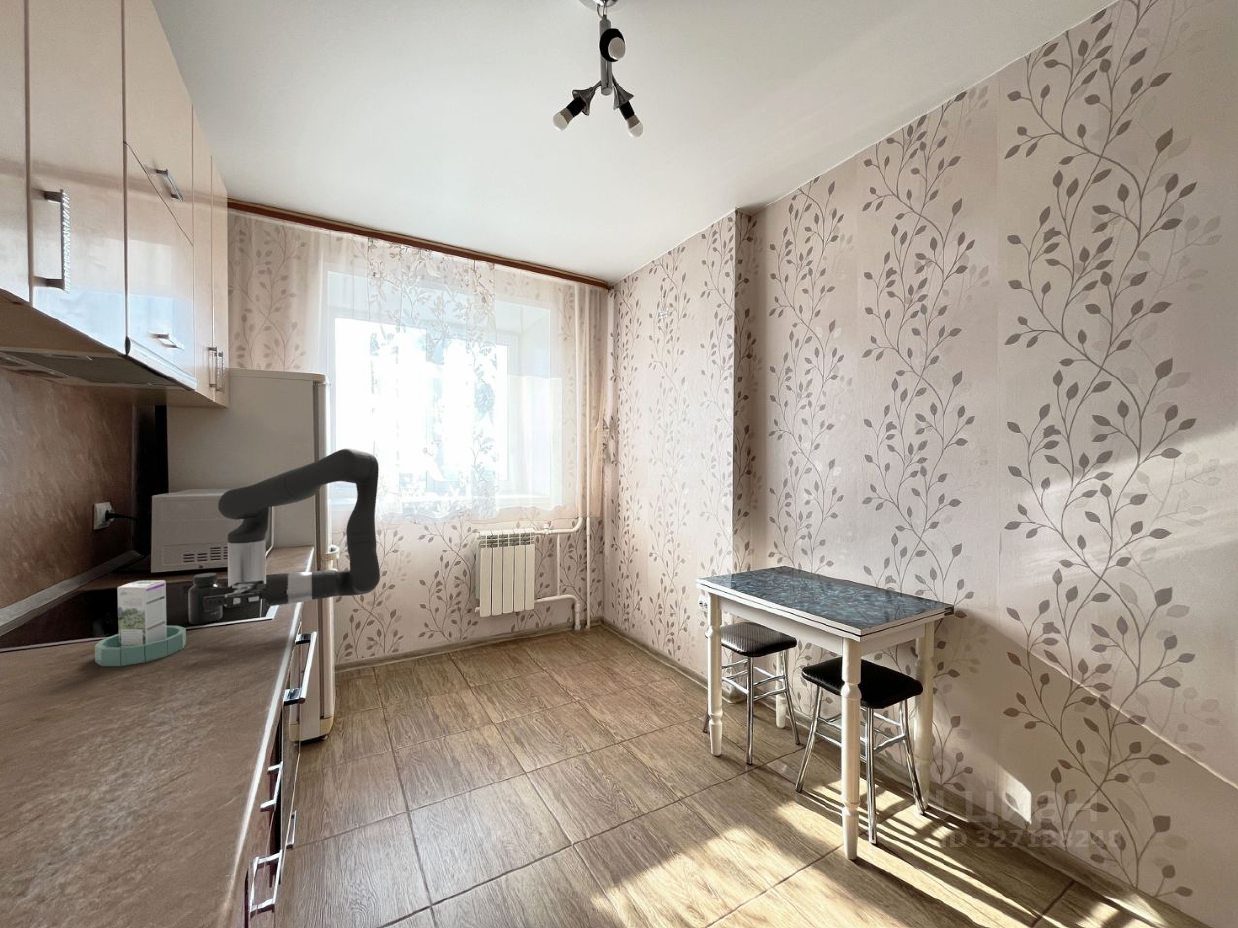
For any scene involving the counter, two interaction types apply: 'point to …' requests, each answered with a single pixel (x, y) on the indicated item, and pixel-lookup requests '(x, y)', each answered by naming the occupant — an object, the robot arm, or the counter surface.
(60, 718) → the counter surface
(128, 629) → the syrup box
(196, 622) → the supplement bottle
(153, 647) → the bowl
